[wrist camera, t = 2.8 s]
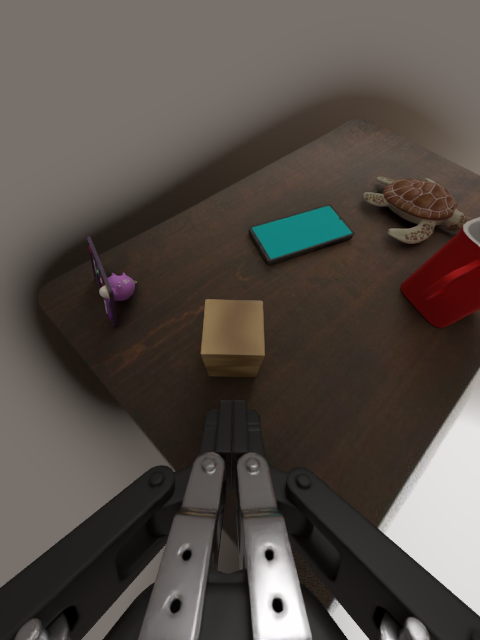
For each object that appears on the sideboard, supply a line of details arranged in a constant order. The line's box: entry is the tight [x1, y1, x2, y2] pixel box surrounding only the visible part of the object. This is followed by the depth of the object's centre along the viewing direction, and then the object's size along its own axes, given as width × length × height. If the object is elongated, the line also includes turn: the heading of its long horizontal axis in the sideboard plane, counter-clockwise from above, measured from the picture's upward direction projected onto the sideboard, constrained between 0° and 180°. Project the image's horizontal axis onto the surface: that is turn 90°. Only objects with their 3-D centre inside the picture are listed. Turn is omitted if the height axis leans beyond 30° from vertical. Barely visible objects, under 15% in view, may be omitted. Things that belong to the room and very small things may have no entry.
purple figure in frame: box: [86, 236, 137, 327], centre depth 30 cm, size 7×5×9 cm
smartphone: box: [249, 205, 354, 265], centre depth 37 cm, size 7×1×15 cm
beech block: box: [201, 299, 265, 377], centre depth 25 cm, size 6×6×8 cm
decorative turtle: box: [363, 176, 471, 244], centre depth 39 cm, size 18×17×5 cm
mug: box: [401, 217, 480, 328], centre depth 28 cm, size 12×8×11 cm
